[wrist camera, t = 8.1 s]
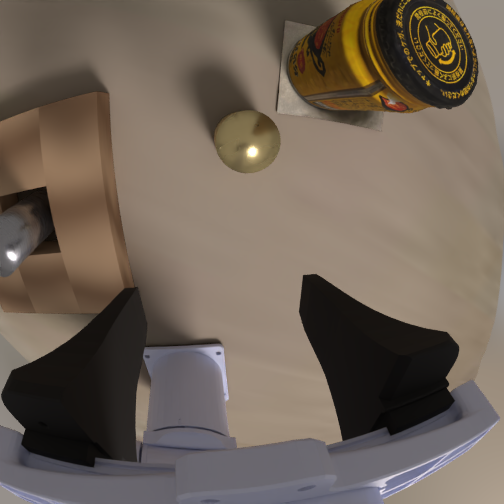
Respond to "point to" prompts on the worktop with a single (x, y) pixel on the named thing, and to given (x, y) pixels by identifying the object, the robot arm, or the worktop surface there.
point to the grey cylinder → (23, 230)
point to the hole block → (66, 207)
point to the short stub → (247, 141)
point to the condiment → (377, 62)
